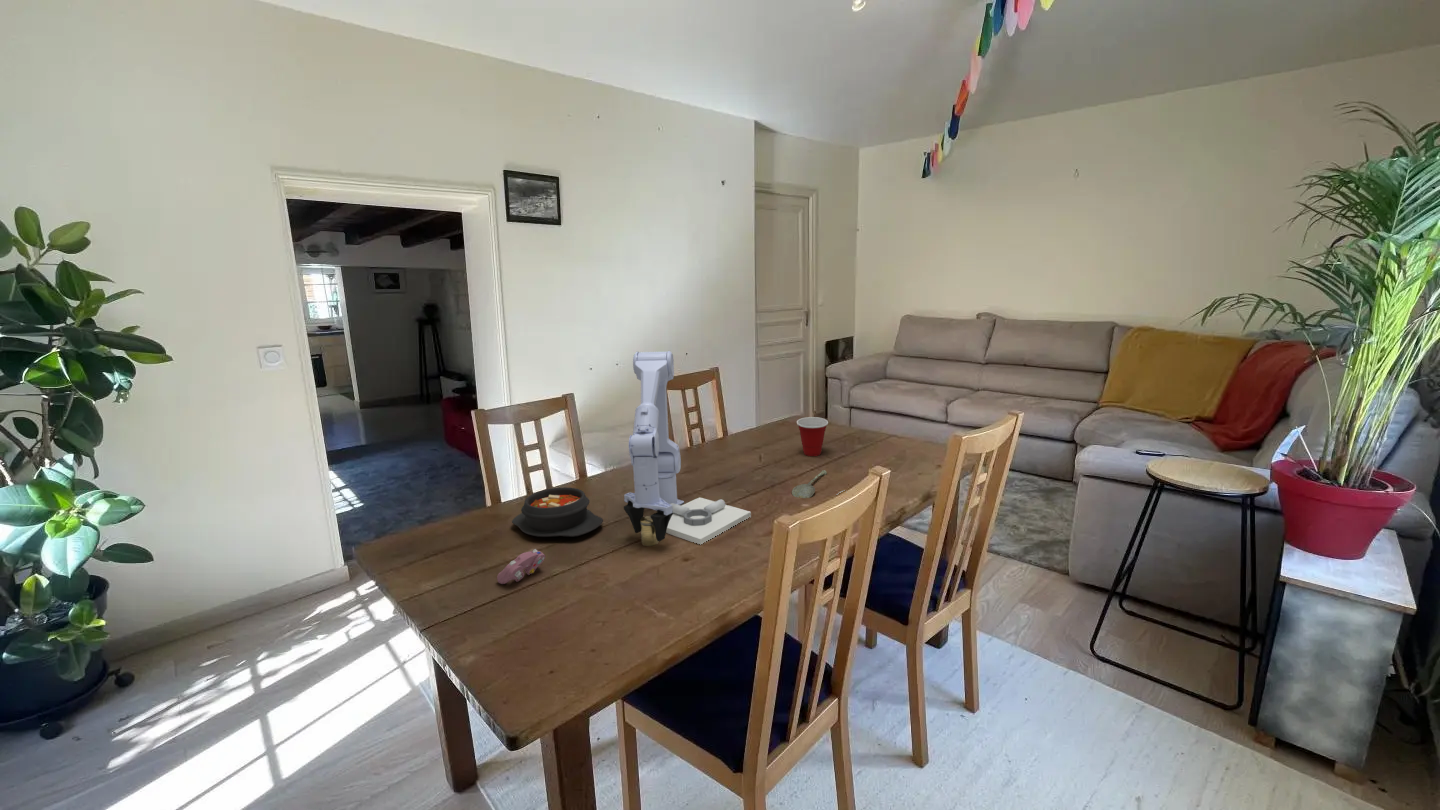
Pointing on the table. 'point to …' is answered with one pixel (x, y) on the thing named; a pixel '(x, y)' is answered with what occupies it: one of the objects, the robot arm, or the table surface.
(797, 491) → the soupspoon
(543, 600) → the table surface
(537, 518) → the casserole
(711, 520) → the shaft base
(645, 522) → the salt shaker
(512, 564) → the video game controller
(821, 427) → the plastic cup
